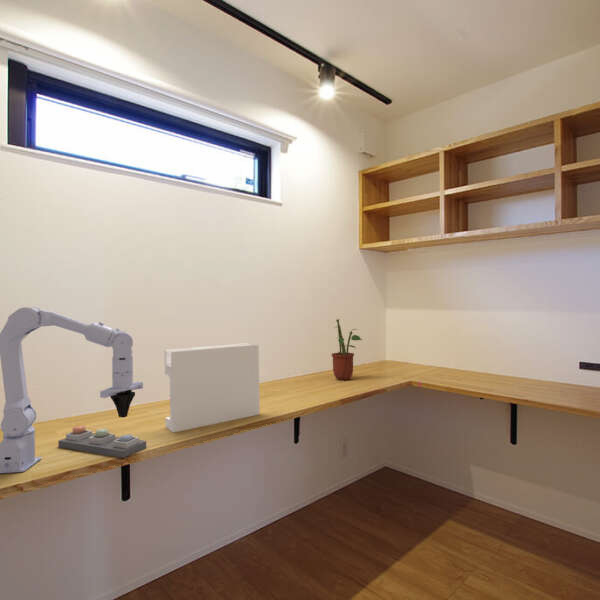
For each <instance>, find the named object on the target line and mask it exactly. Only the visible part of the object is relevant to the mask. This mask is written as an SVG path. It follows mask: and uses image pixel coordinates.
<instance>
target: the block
mask: <svg viewBox="0 0 600 600" xmlns="http://www.w3.org/2000/svg"><path fill="white" fill-rule="evenodd" d="M259 348H260V347H259V343H257V344H250V343H249V342H248V343H236V344H235V343H233V344H224V345H223V344H221V345H211V346H209V345H208V346H197V347H186V348H185V347H184V348H174V349H173V348H172V349H164V374H165V375H167V376H168V377H169V378H168V379H169V407H170V408H169V412H170V415H169V416H166V417H165V418H164V419H165V423H164V424H165V428H166V429H168V430H169V431H171V432H172V433H177V432H182V431H187V430H192V429H196V428H200V427H201V428H202V427H205V426H206V427H207V426H211V425H216V424H220V423H221V424H222V423H225V422H230V421H234V420H239V419H244V418H249V417H253V416H257V415H259V416H260V413H261V412H260V366H259V365H260V363H259V362H260V359H259V358H260V357H259V356H260V355H259V352H260V351H259Z"/></svg>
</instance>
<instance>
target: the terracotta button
mask: <svg viewBox="0 0 600 600" xmlns="http://www.w3.org/2000/svg"><path fill="white" fill-rule="evenodd" d="M85 430H86V425H75V426H73V427H72V432H73V433H74V434H77V433H83V432H85Z"/></svg>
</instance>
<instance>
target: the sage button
mask: <svg viewBox="0 0 600 600" xmlns="http://www.w3.org/2000/svg"><path fill="white" fill-rule="evenodd" d="M108 433H109V428H106V427H105V428H100V429H99V428H98V429H96V430H95V433H94V434H95V436H96V437H103V436H107V435H108Z"/></svg>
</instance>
